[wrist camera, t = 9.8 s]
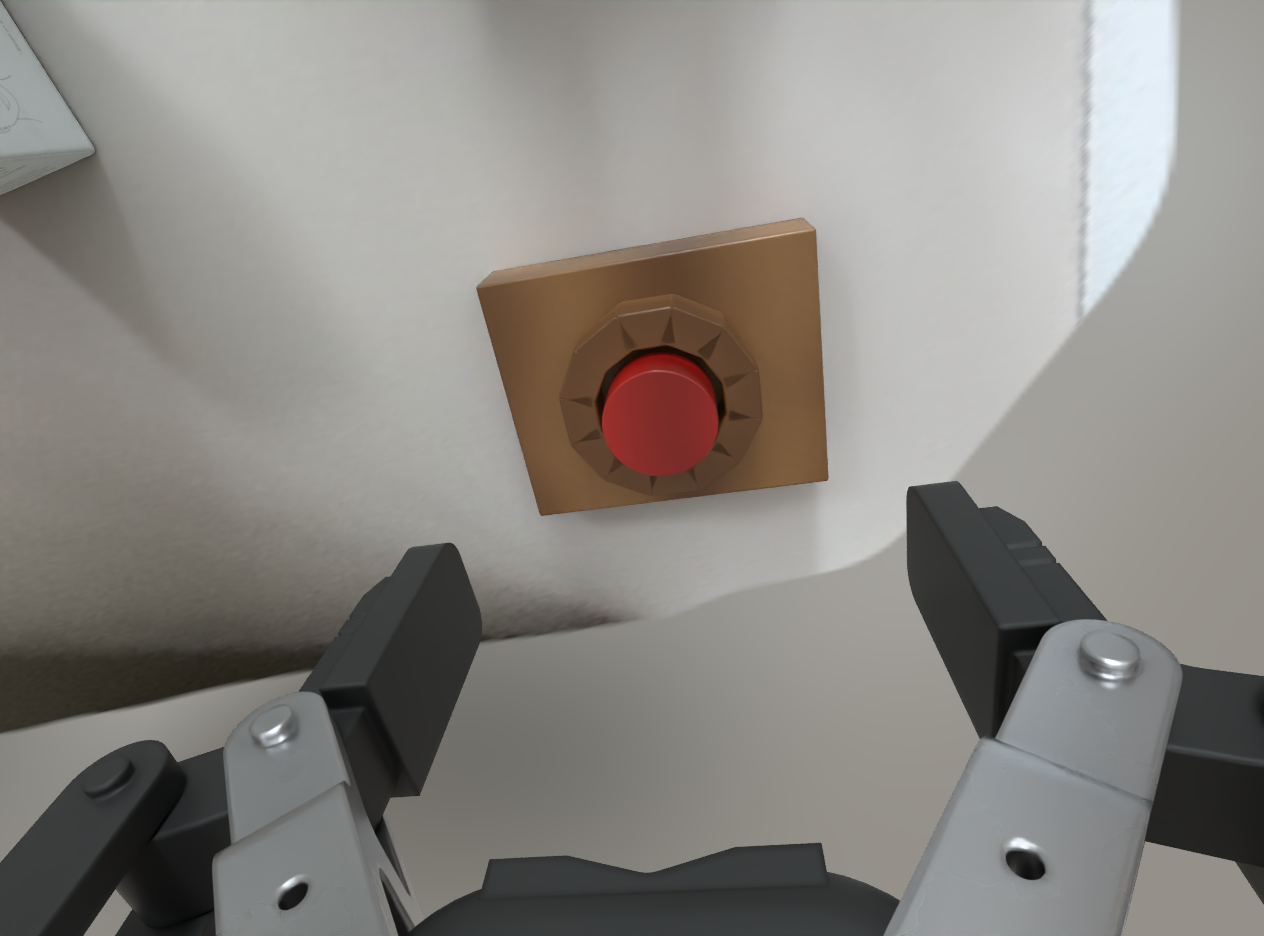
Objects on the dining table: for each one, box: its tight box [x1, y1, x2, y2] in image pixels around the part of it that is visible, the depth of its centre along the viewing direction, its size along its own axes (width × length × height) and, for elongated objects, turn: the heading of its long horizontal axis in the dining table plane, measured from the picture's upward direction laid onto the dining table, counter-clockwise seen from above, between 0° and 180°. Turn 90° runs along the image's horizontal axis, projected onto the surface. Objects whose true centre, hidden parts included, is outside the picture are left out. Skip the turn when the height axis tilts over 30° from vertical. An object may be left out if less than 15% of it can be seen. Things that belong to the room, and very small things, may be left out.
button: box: [602, 352, 719, 476], centre depth 22 cm, size 4×4×2 cm
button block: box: [476, 218, 828, 516], centre depth 24 cm, size 11×9×4 cm
